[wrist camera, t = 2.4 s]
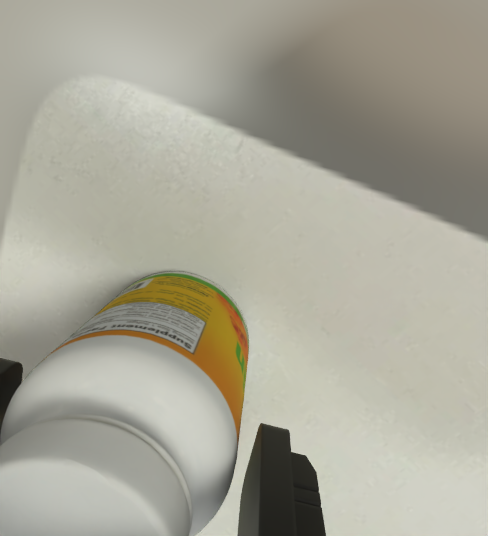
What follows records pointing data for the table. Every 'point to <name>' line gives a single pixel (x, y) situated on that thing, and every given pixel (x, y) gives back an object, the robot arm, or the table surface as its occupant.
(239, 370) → the supplement bottle
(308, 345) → the table surface
